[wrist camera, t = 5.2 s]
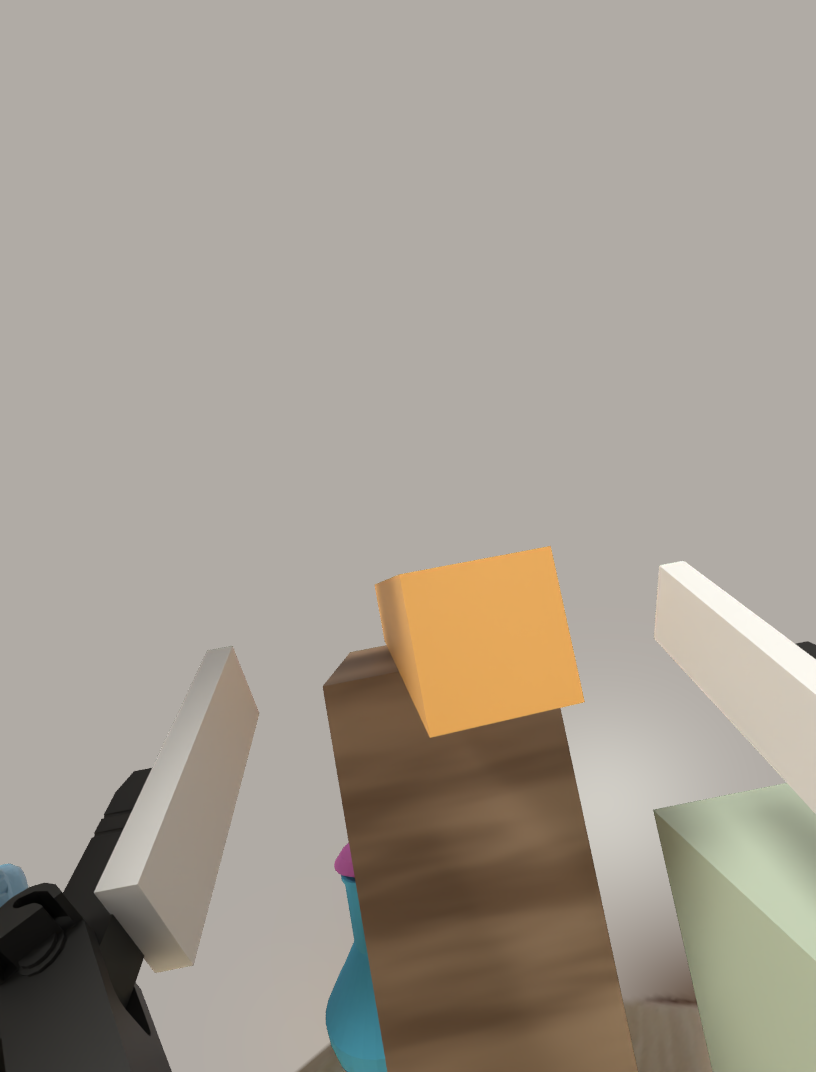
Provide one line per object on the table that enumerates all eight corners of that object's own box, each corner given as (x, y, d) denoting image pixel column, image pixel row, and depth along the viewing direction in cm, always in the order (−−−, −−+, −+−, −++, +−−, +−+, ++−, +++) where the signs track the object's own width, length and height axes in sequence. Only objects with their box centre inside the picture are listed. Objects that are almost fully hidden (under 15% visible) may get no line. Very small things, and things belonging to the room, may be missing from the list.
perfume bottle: (314, 1070, 35) (281, 857, 36) (412, 986, 40) (380, 804, 42) (384, 1181, 28) (339, 909, 29) (491, 1059, 33) (449, 837, 35)
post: (714, 1429, 18) (546, 642, 21) (456, 1486, 18) (322, 686, 21) (605, 1128, 28) (501, 623, 31) (439, 1163, 28) (350, 652, 31)
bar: (584, 701, 12) (550, 546, 12) (429, 737, 11) (399, 574, 12) (440, 629, 34) (429, 574, 34) (384, 641, 33) (374, 584, 34)
